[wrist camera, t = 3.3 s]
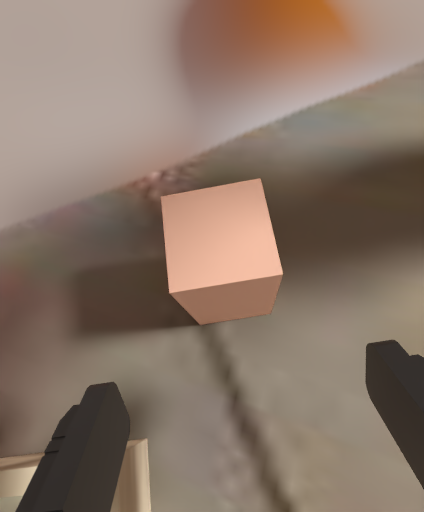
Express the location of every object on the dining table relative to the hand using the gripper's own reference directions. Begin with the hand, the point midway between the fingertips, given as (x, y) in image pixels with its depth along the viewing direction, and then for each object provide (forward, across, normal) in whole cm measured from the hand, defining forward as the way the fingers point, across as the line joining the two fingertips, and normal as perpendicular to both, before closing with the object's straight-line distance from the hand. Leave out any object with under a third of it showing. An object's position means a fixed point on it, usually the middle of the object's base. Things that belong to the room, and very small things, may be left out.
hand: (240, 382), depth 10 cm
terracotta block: (+12, 0, +3) cm, 13 cm away
